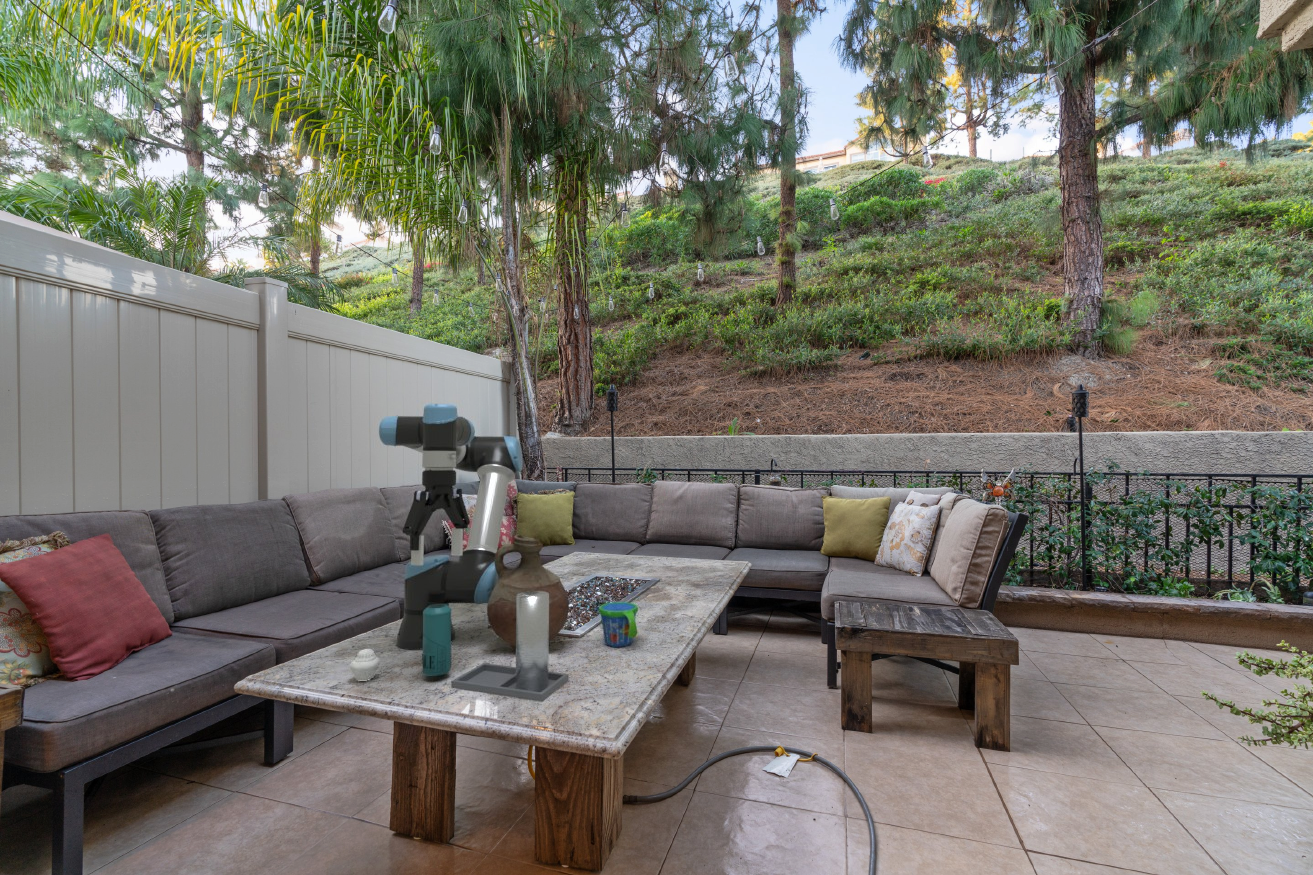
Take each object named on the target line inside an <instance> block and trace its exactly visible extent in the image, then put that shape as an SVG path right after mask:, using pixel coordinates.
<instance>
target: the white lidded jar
mask: <svg viewBox="0 0 1313 875" xmlns="http://www.w3.org/2000/svg"><path fill="white" fill-rule="evenodd" d="M380 664H381V659H380V658H379V657H378V656H377V655H376V654H375V651H374V650H373V649H372V648H371V649H370V648H365V649H361V650H359V651H358V652H357V654H356V657H355V659H353V660H352V662H351V663H350V665H349V667H350V669H351V673H352V674H353V676H354V678H355V679H356V681H357V680H368V679H371V678H373V679H374V677H375V675H376V673H377V671H378V670H379V667H380Z"/></svg>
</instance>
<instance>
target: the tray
mask: <svg viewBox="0 0 1313 875" xmlns="http://www.w3.org/2000/svg"><path fill="white" fill-rule="evenodd" d="M568 682H569V673H562V672H555V671H554V672H553V671H549V676H548V687H547V688H546V689H545V690H543V691H542V692H534V691H527V690H520V689H516V666H509V665H503V664H495V663H486V662H483V663H481V664H479V665H477V666H476V667H474V668H472V669H470V670H469V671H467V672H465V673H463V674H461V675H460V676H458V677H456V678H455V679H452V680H451V683H450V684H451V685H450V686H451V687H450V688H451V689H457V690H463V691H469V692H476V693H482V694H483V693H484V694H489V695H497V696H504V697H508V698H509V697H510V698H516V699H523V700H530V701H535V702H544V701H545V700H546V699H548V697H550V696H551V695H552V694H554V693H555V692H557V690H558V689H560V688H561V687H562V686H564V685H565V684H566V683H568Z"/></svg>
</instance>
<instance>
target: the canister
mask: <svg viewBox="0 0 1313 875" xmlns="http://www.w3.org/2000/svg"><path fill="white" fill-rule="evenodd" d="M549 648H550V641H549V593H548V592H544V591H528V592H522V593H519V594H517V595H516V648H515V667H516V689H520V690H527V691H534V692H542V691H543V690H545V689H546V688H547V687H548V676H549V672H550V670H549V664H550V663H549V661H550V659H549V657H550V656H549V654H550V650H549Z"/></svg>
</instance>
